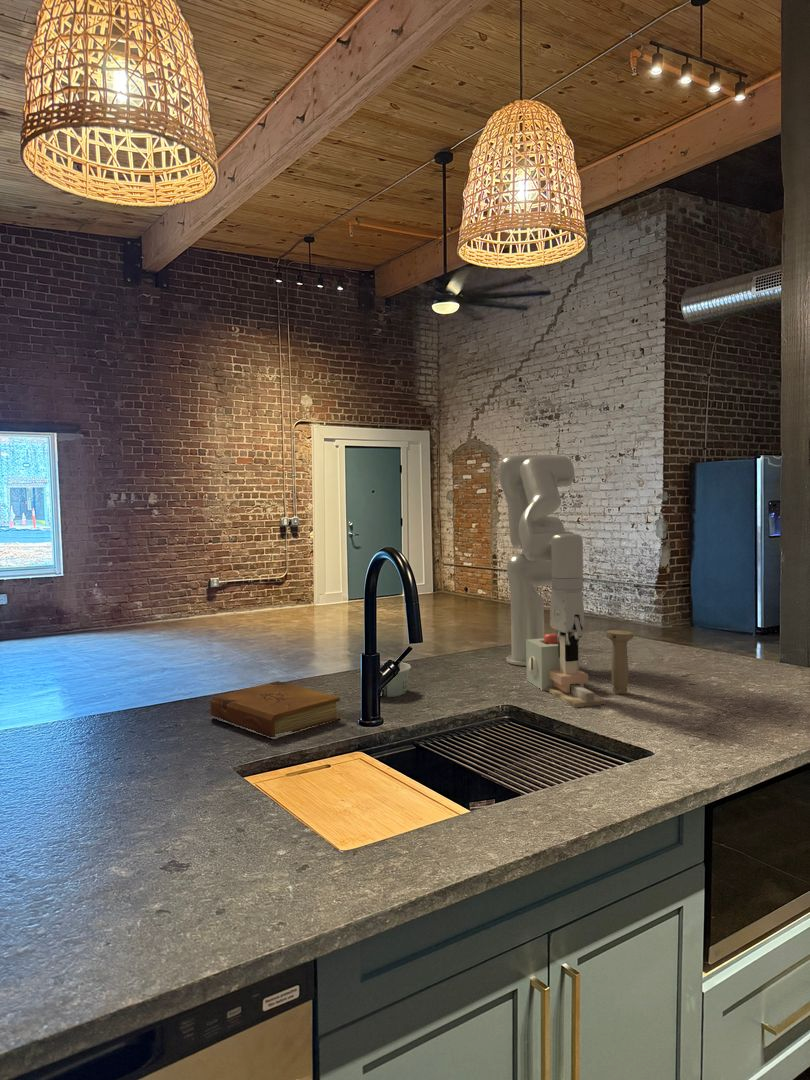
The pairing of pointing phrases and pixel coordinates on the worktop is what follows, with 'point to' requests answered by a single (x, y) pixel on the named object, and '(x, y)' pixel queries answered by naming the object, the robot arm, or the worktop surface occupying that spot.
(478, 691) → the worktop surface
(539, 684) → the gauge cabinet
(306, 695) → the diary
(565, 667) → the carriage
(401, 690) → the food container
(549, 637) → the button
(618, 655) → the handle
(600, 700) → the rail
